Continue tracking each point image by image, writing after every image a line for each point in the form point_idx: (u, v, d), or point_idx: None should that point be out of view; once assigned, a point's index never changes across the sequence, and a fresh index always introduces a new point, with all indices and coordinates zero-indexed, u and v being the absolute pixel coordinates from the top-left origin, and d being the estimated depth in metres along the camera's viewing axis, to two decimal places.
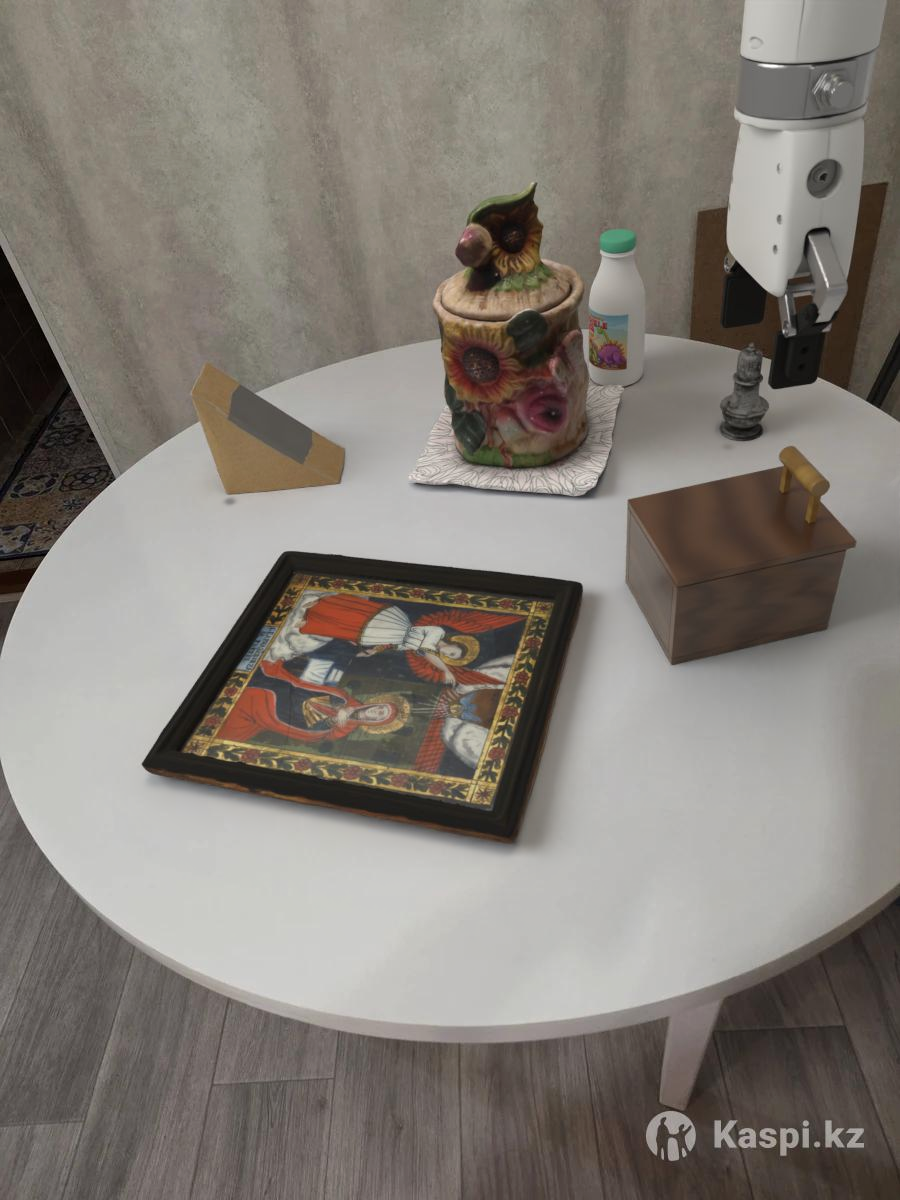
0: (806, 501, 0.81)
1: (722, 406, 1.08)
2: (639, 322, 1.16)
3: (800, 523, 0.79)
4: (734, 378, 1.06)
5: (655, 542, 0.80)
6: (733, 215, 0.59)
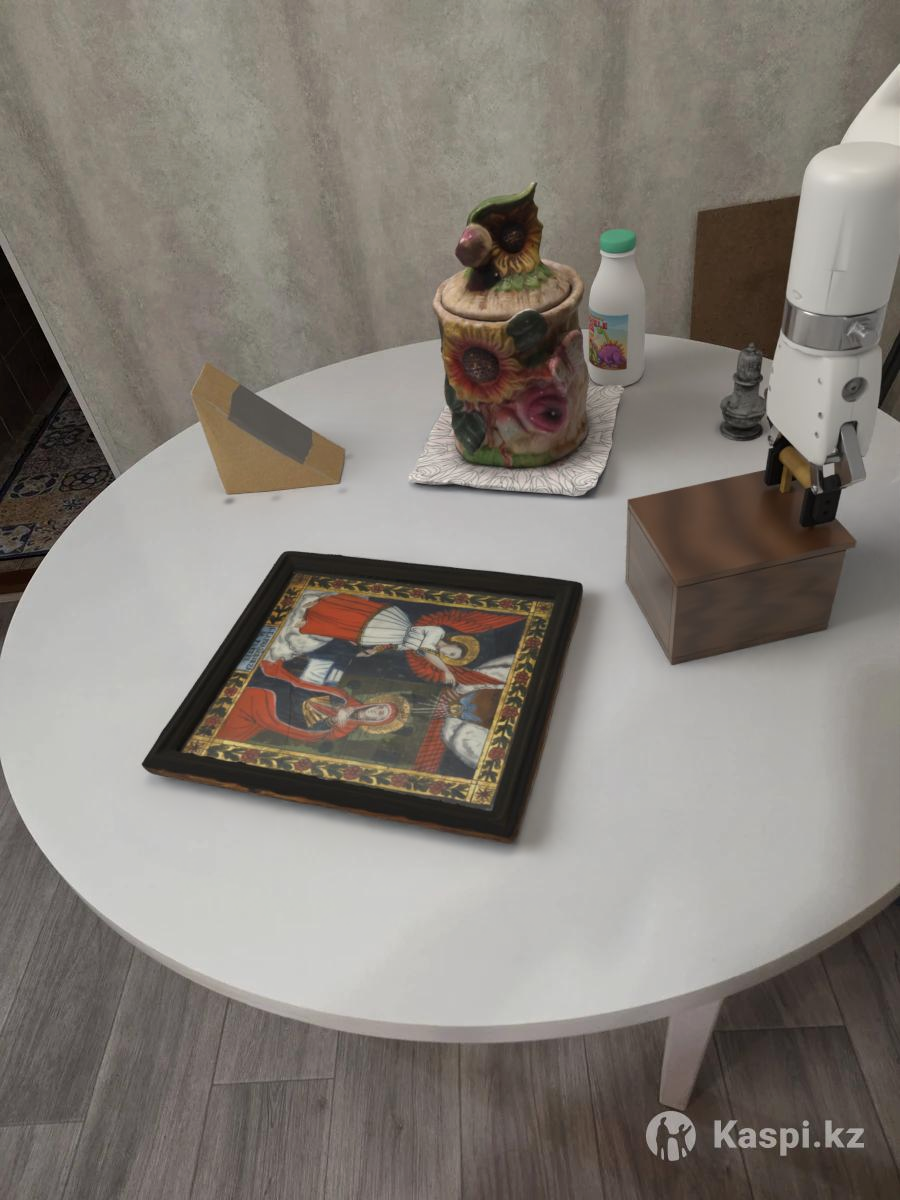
0: None
1: (722, 406, 1.08)
2: (639, 322, 1.16)
3: None
4: (734, 378, 1.06)
5: (655, 542, 0.80)
6: (774, 396, 0.76)
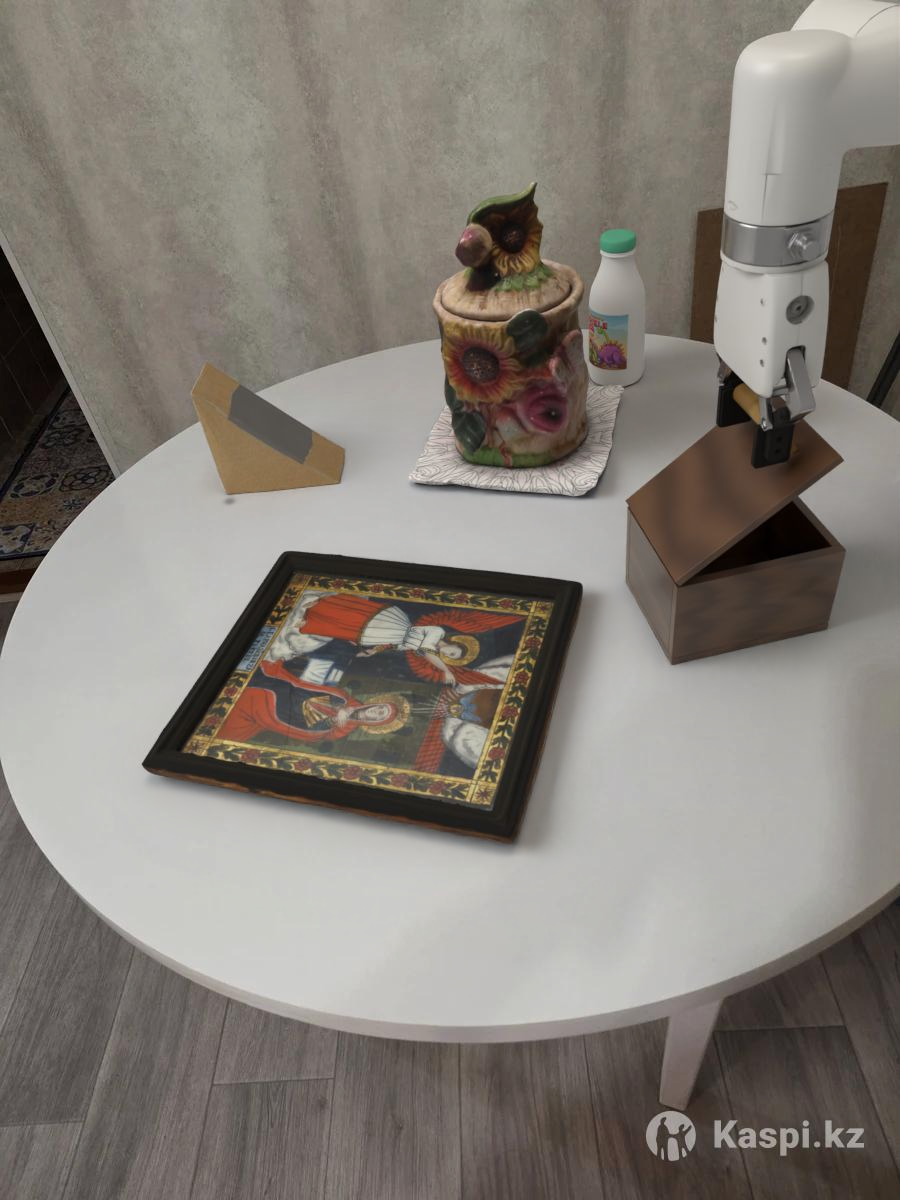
0: None
1: None
2: (639, 322, 1.16)
3: None
4: None
5: (652, 543, 0.80)
6: (720, 327, 0.71)
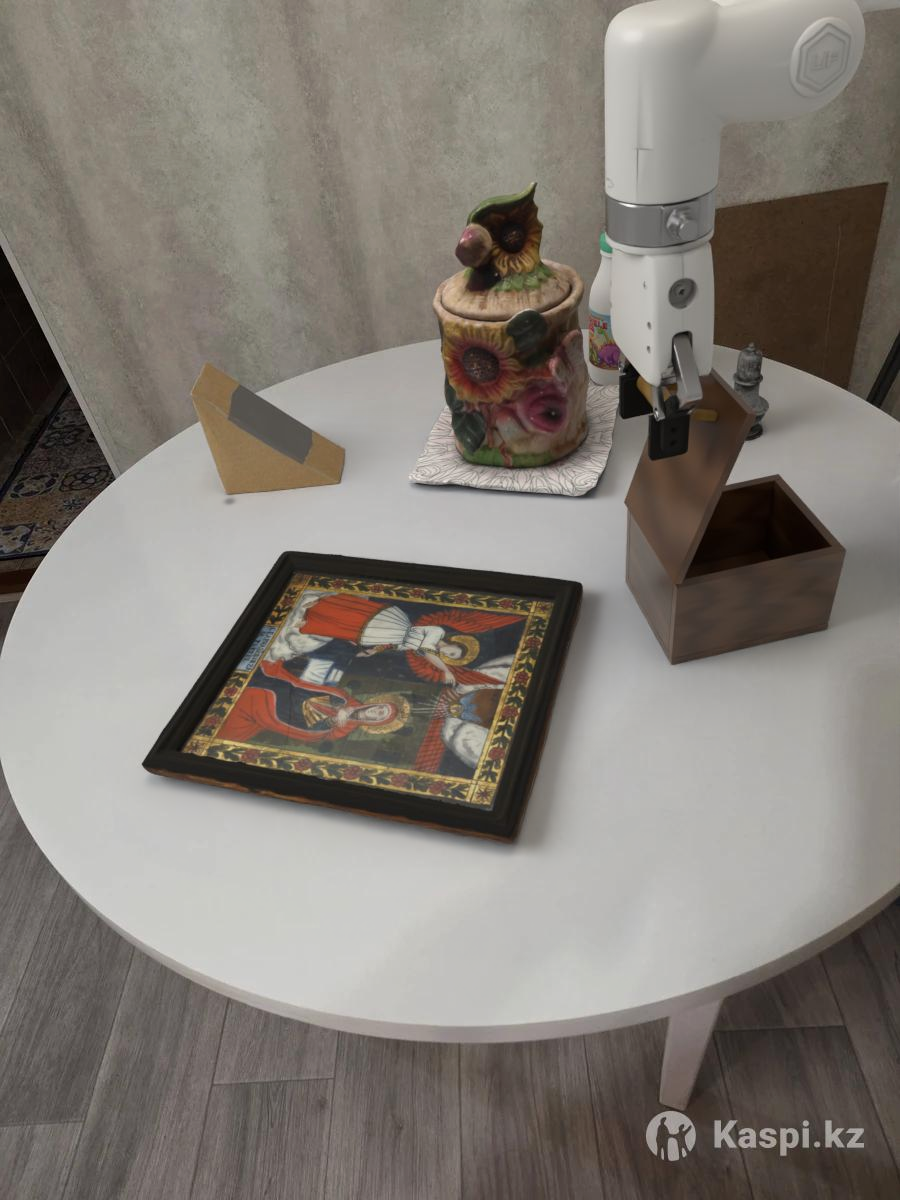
0: (705, 387, 0.71)
1: None
2: None
3: (710, 427, 0.70)
4: (734, 378, 1.06)
5: (650, 544, 0.80)
6: (614, 313, 0.68)
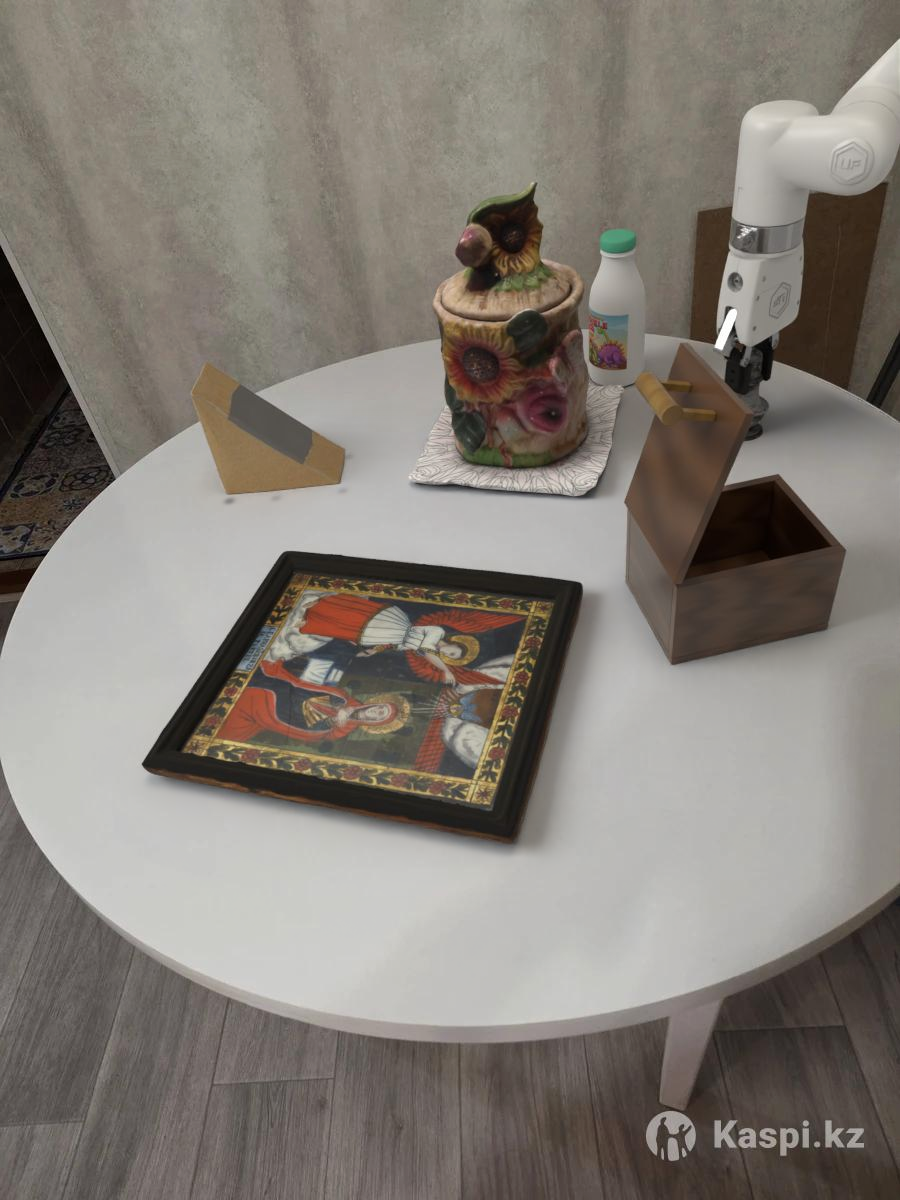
0: (704, 387, 0.71)
1: None
2: (639, 322, 1.16)
3: (709, 426, 0.70)
4: None
5: (650, 545, 0.80)
6: None
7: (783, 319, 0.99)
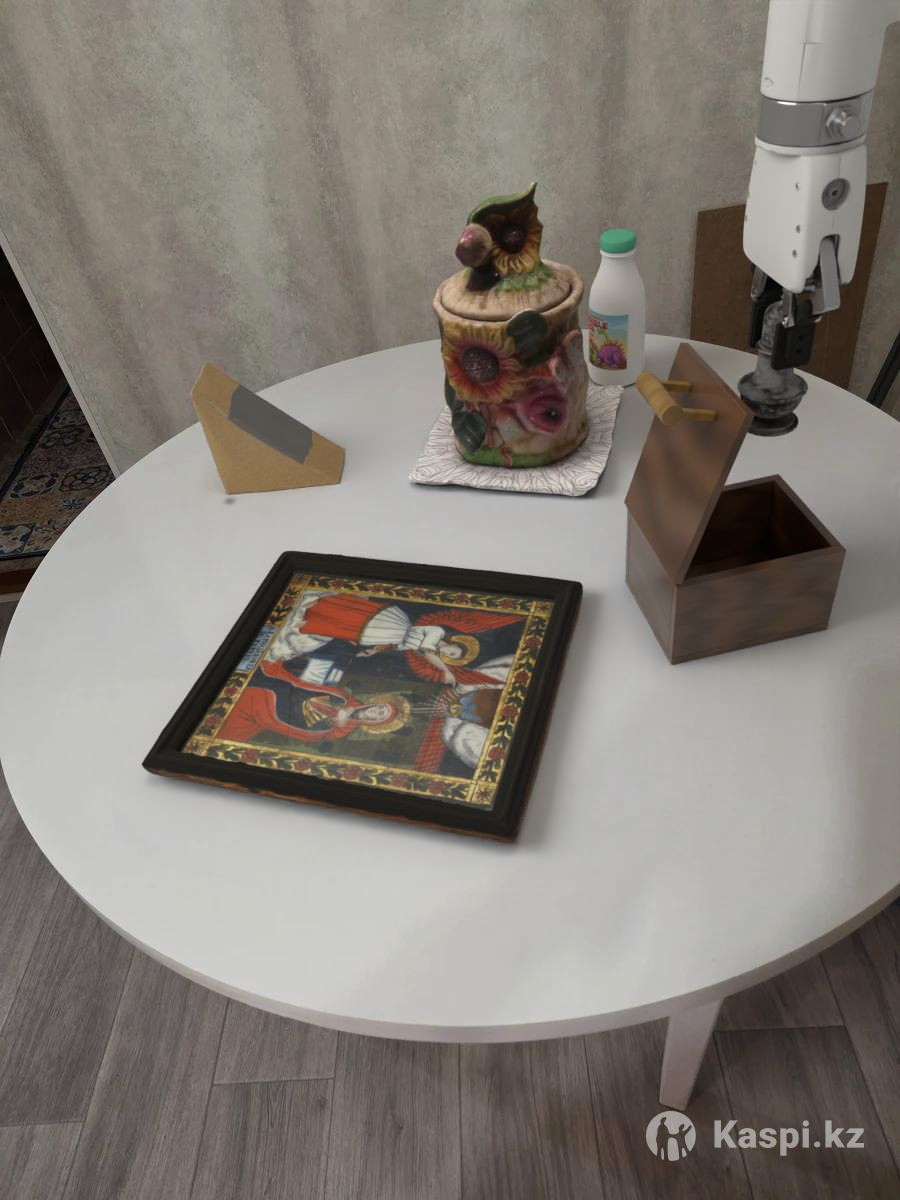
0: (704, 387, 0.71)
1: (763, 399, 0.74)
2: (639, 322, 1.16)
3: (709, 426, 0.70)
4: None
5: (650, 545, 0.80)
6: (750, 225, 0.69)
7: None
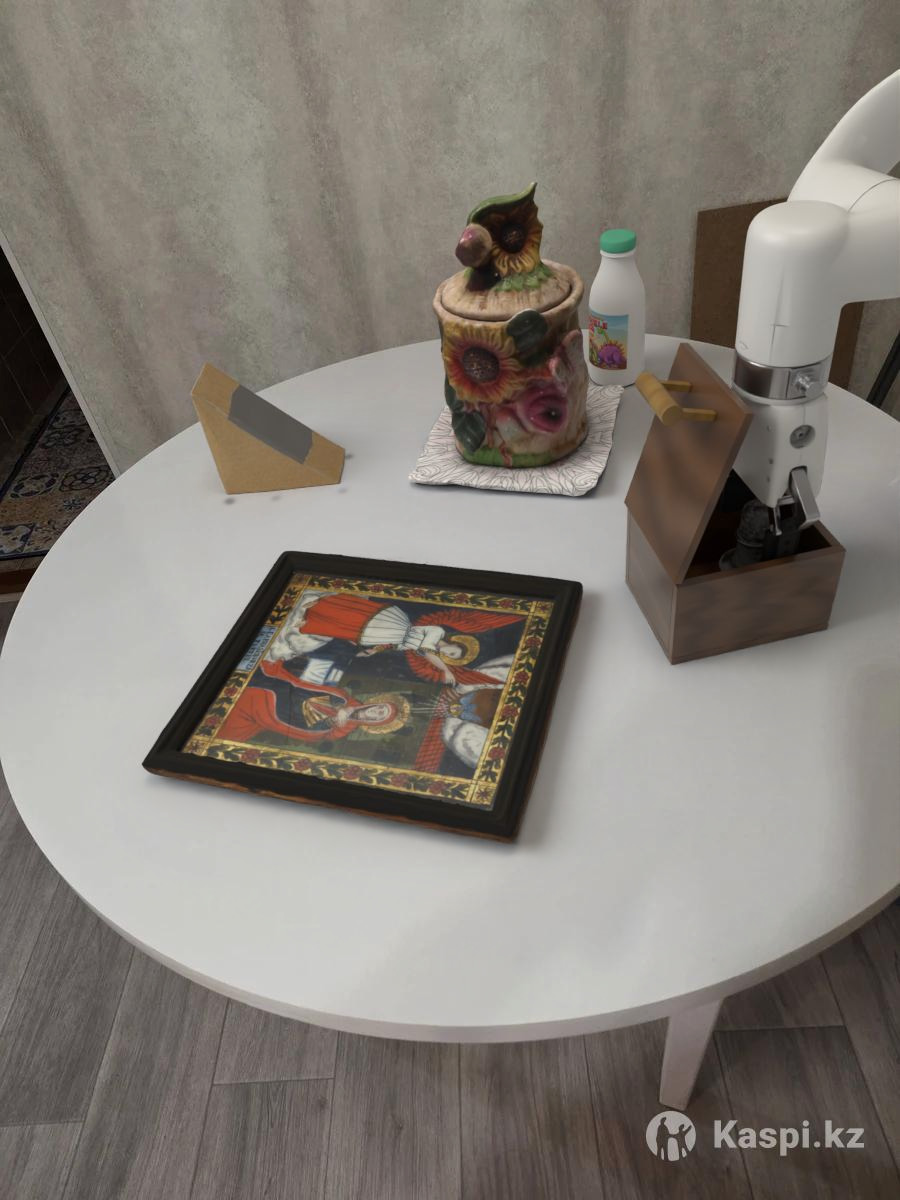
0: (704, 387, 0.71)
1: None
2: (639, 322, 1.16)
3: (709, 426, 0.70)
4: (751, 544, 0.81)
5: (650, 545, 0.80)
6: None
7: None
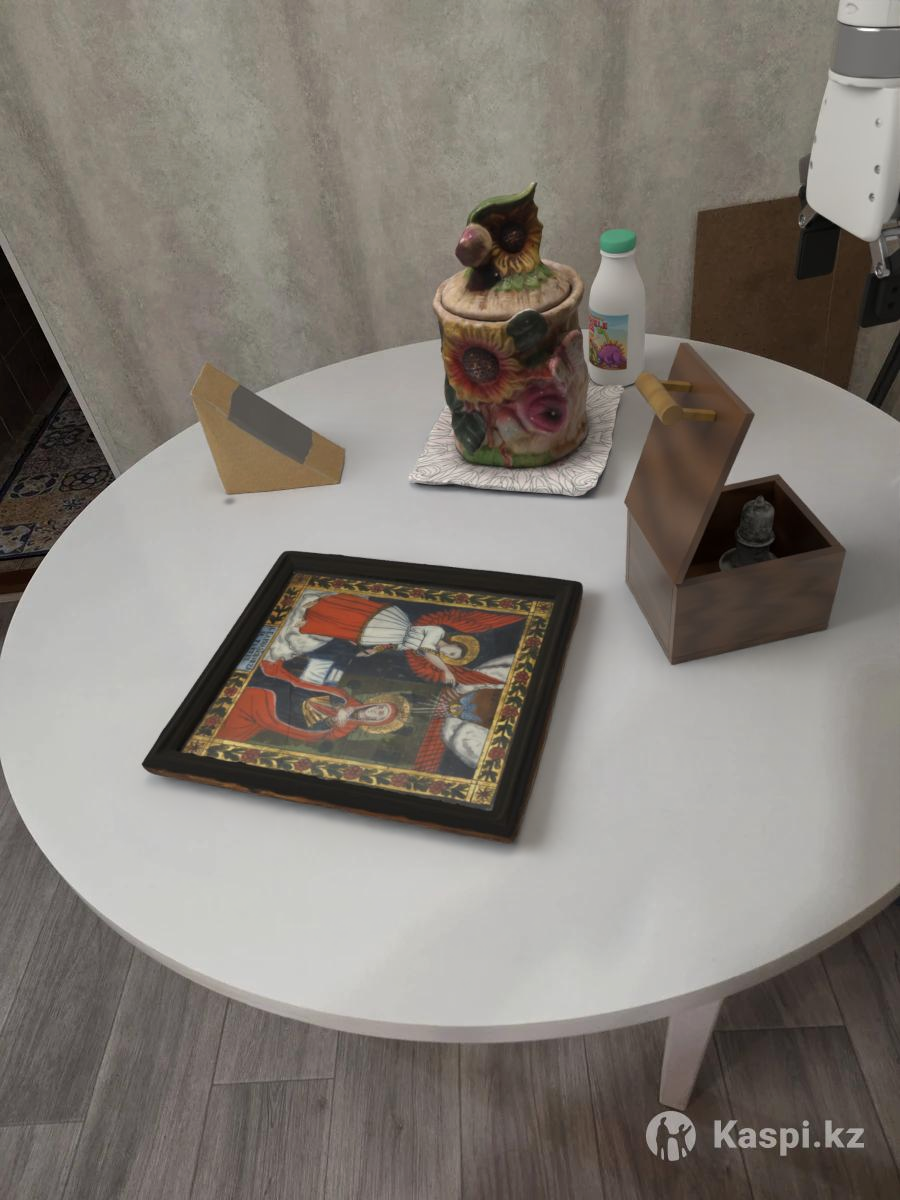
0: (704, 387, 0.71)
1: None
2: (639, 322, 1.16)
3: (709, 426, 0.70)
4: (751, 544, 0.81)
5: (650, 545, 0.80)
6: (817, 172, 0.65)
7: None
